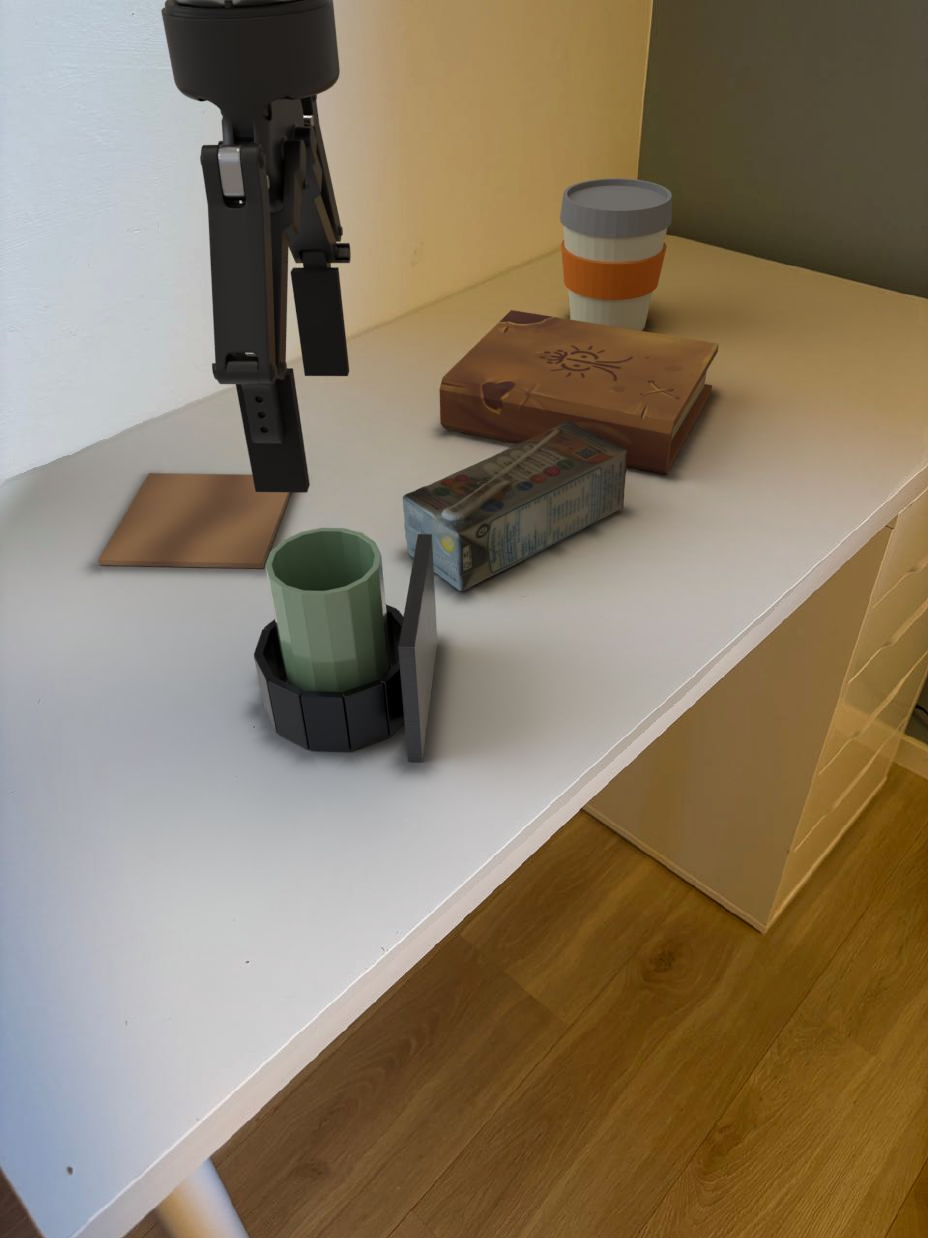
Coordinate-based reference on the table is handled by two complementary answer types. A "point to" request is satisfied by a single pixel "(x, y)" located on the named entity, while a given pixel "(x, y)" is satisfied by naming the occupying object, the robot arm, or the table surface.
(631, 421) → the diary
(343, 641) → the cup
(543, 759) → the table surface
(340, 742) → the ring cup holder
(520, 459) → the beverage carton
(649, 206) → the reusable coffee cup
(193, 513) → the cork tile
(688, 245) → the table surface
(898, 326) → the table surface
